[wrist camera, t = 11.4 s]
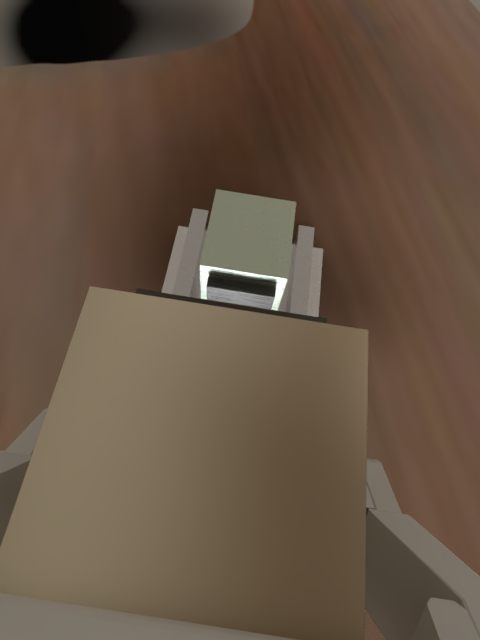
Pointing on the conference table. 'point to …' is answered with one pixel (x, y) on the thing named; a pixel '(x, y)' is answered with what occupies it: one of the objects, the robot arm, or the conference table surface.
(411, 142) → the conference table surface
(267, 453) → the wooden block
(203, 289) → the rail
